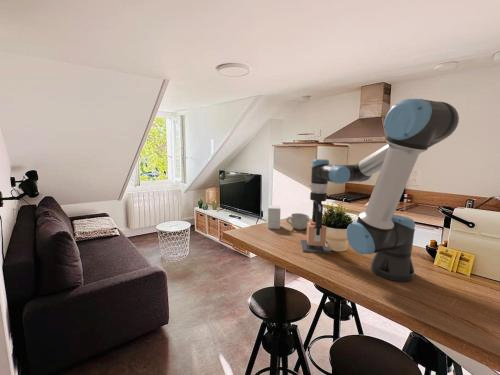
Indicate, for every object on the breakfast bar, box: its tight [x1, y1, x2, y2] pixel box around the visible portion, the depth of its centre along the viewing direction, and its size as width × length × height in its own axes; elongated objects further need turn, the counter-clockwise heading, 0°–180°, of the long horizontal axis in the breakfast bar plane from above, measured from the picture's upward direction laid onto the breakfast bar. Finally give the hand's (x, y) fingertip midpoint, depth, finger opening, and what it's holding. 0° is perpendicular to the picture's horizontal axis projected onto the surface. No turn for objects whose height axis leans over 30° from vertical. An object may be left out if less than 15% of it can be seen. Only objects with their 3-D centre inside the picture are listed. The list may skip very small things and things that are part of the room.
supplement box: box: [267, 205, 281, 230], centre depth 155 cm, size 7×7×13 cm
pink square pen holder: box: [305, 221, 327, 246], centre depth 124 cm, size 8×8×9 cm
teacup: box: [285, 212, 310, 231], centre depth 154 cm, size 14×11×8 cm
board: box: [300, 239, 332, 254], centre depth 125 cm, size 12×13×7 cm
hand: (315, 237), depth 125 cm, fingers closed on pink square pen holder, 8 cm apart
